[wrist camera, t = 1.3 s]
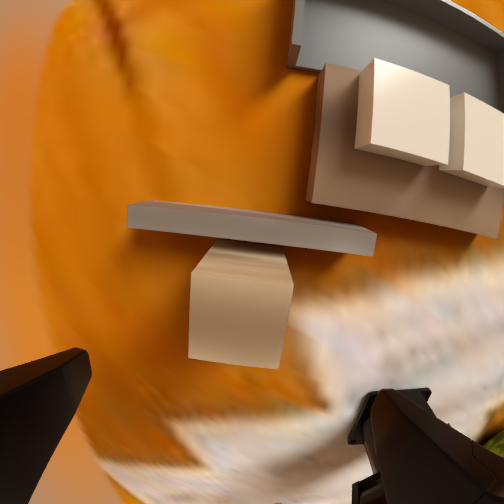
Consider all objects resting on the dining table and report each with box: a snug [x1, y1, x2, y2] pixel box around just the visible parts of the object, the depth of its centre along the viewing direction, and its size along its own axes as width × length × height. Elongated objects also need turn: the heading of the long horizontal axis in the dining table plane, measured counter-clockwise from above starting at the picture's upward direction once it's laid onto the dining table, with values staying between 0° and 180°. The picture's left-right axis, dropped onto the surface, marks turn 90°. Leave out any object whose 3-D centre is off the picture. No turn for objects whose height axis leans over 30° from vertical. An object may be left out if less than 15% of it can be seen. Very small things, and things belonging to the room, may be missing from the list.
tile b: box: [354, 58, 450, 166], centre depth 13 cm, size 4×4×2 cm
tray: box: [287, 0, 504, 113], centre depth 13 cm, size 8×18×4 cm, turn 84°
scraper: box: [127, 200, 377, 369], centre depth 15 cm, size 6×13×7 cm, turn 84°
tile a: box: [439, 92, 504, 188], centre depth 12 cm, size 4×4×2 cm
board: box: [305, 63, 504, 239], centre depth 15 cm, size 8×14×2 cm, turn 84°
